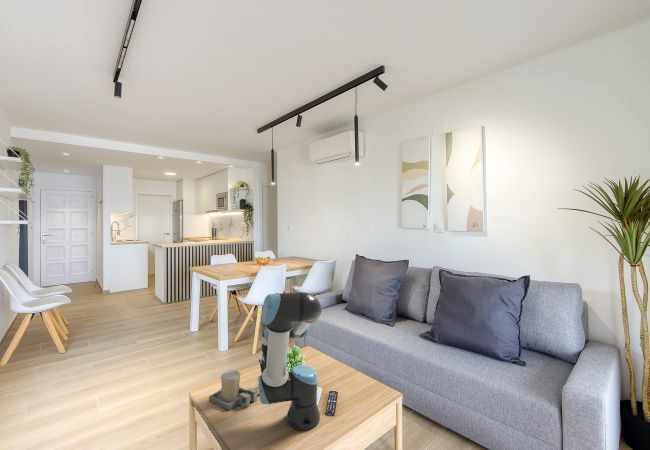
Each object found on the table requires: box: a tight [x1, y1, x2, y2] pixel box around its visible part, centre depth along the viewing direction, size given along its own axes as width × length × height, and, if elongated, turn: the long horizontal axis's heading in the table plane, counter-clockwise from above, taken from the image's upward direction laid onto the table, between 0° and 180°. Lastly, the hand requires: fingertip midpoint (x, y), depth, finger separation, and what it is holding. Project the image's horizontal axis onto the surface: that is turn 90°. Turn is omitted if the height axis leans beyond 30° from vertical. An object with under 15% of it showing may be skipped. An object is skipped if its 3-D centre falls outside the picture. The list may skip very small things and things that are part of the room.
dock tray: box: [208, 386, 258, 411], centre depth 153 cm, size 19×14×5 cm
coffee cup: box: [220, 369, 241, 402], centre depth 154 cm, size 9×9×12 cm
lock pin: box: [244, 383, 260, 401], centre depth 157 cm, size 15×4×4 cm, turn 150°
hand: (267, 386), depth 165 cm, fingers closed
